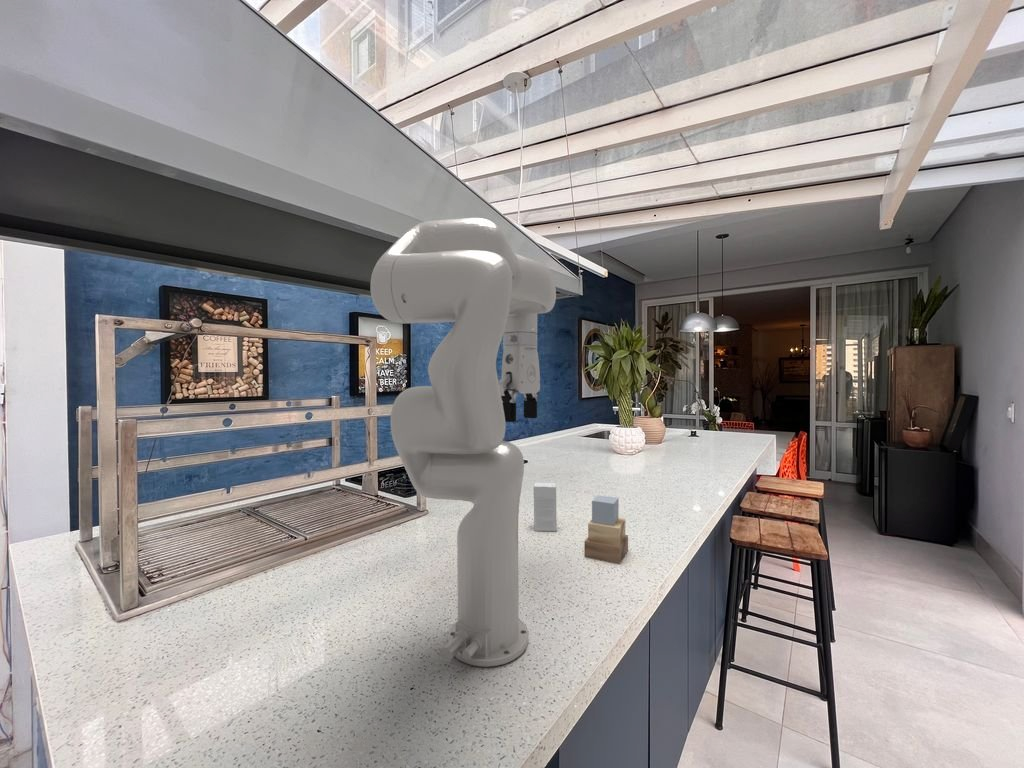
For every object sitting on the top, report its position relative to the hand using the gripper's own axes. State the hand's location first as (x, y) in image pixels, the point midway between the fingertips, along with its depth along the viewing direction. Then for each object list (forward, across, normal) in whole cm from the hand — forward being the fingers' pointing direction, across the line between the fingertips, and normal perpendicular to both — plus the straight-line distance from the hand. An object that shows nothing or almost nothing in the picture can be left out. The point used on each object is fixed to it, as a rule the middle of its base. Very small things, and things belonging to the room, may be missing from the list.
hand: (520, 419), depth 93 cm
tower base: (+32, +14, -15) cm, 38 cm away
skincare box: (+32, +21, +4) cm, 38 cm away
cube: (+24, +14, -15) cm, 31 cm away
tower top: (+28, +14, -15) cm, 35 cm away
